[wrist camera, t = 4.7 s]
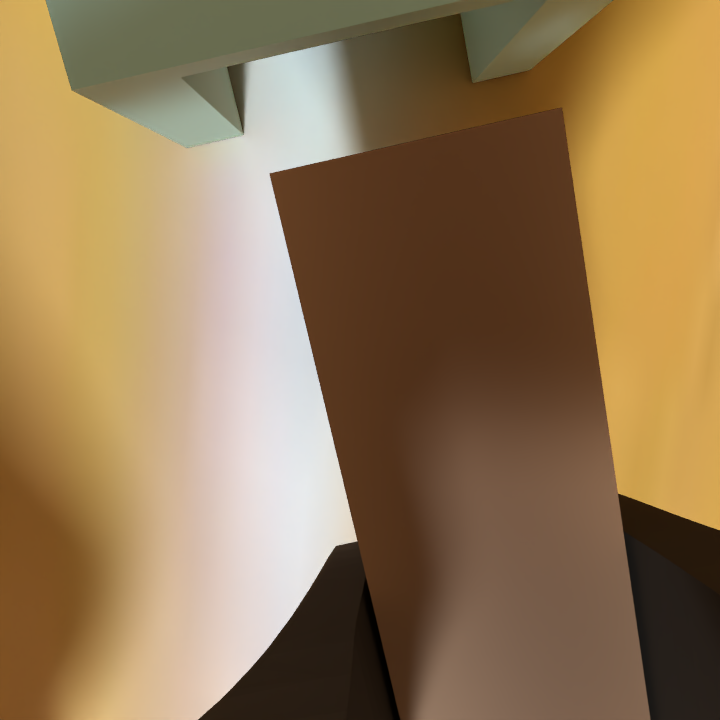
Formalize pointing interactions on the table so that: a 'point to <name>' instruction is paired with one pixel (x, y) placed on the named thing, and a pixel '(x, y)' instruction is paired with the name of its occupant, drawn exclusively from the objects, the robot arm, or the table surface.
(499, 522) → the tall brown box
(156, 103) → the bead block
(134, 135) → the table surface
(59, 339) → the table surface
